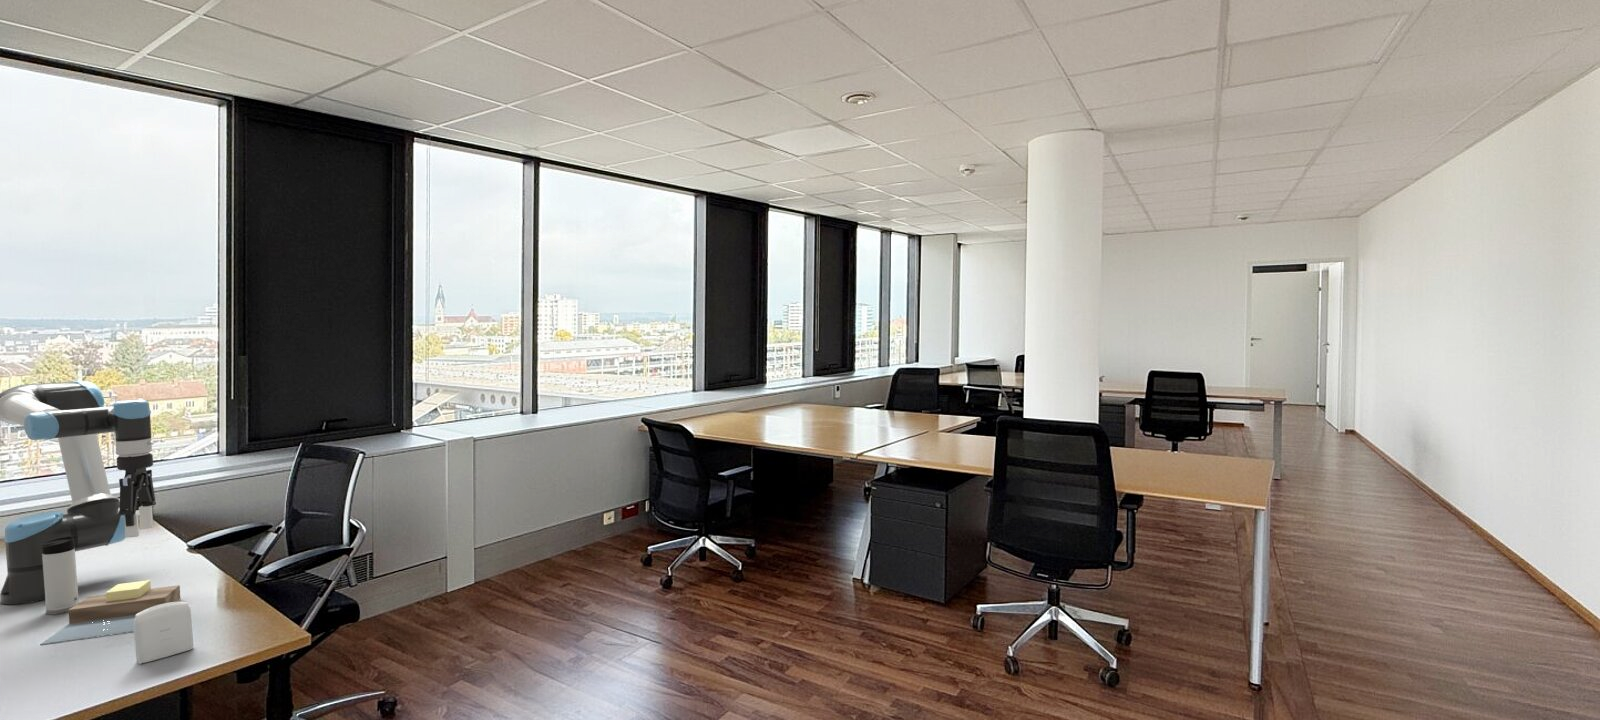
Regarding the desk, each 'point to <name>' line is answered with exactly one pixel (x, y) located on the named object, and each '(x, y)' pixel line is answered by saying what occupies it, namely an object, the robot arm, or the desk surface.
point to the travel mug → (60, 575)
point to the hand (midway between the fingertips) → (139, 532)
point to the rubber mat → (92, 629)
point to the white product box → (163, 631)
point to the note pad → (128, 590)
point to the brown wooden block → (121, 605)
